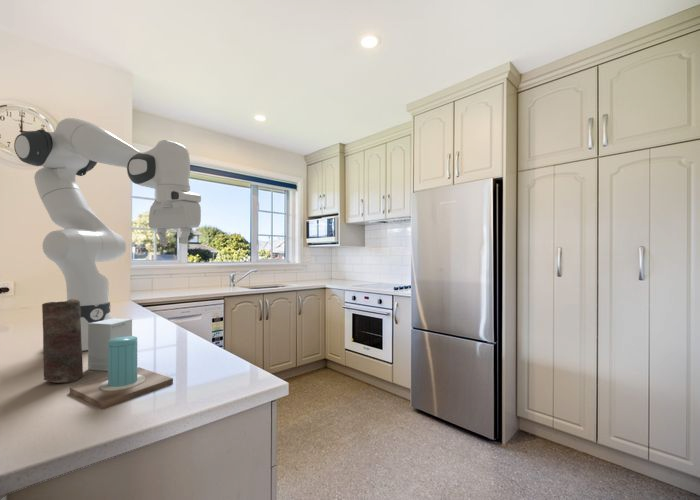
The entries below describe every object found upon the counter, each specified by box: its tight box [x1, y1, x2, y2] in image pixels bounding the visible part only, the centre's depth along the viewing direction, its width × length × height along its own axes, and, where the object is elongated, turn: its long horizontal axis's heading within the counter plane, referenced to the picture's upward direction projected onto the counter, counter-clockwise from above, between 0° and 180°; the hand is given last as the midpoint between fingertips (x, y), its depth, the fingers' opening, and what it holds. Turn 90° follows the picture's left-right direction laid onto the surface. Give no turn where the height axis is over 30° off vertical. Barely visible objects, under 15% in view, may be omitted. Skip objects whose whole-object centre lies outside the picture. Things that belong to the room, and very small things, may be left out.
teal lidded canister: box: [107, 335, 138, 387], centre depth 79 cm, size 6×6×10 cm
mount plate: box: [69, 366, 174, 409], centre depth 78 cm, size 15×15×6 cm
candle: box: [41, 299, 84, 384], centre depth 83 cm, size 8×7×20 cm
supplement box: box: [87, 317, 133, 372], centre depth 93 cm, size 7×7×13 cm
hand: (173, 244), depth 98 cm, fingers open, 8 cm apart
